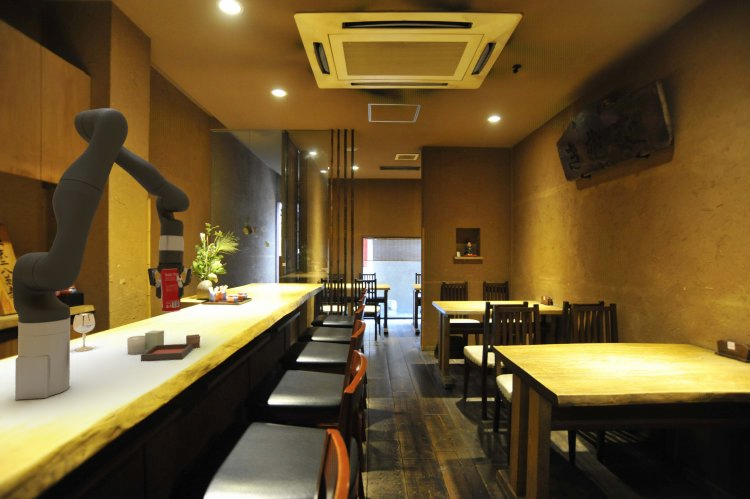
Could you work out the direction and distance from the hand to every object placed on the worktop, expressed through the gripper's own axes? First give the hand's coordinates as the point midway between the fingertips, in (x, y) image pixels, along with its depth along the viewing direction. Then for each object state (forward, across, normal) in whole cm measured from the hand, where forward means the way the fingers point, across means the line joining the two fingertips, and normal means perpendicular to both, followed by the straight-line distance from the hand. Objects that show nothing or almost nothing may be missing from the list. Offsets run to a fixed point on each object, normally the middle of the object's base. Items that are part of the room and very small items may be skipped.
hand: (169, 298), depth 126 cm
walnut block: (+17, +8, +1) cm, 19 cm away
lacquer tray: (+18, +2, -8) cm, 19 cm away
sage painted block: (+18, -4, +1) cm, 18 cm away
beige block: (+18, -9, -3) cm, 20 cm away
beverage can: (+5, 0, 0) cm, 5 cm away
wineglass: (+18, -28, +5) cm, 33 cm away
